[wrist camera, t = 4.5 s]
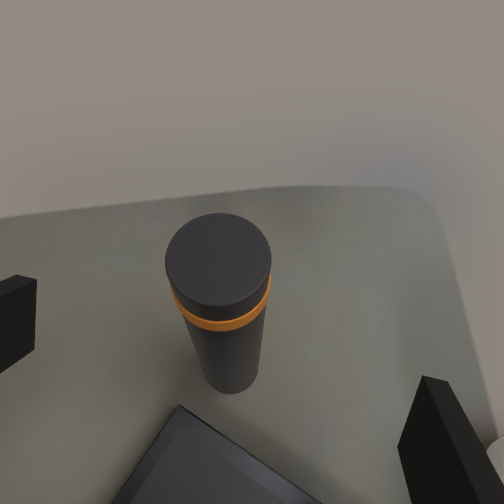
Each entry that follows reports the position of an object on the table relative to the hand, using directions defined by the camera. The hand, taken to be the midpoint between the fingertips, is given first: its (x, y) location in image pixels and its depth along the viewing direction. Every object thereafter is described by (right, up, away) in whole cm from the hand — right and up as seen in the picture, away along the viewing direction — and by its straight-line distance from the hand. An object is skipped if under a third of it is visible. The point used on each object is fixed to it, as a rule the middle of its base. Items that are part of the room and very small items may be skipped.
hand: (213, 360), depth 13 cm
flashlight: (0, -2, +8) cm, 8 cm away
